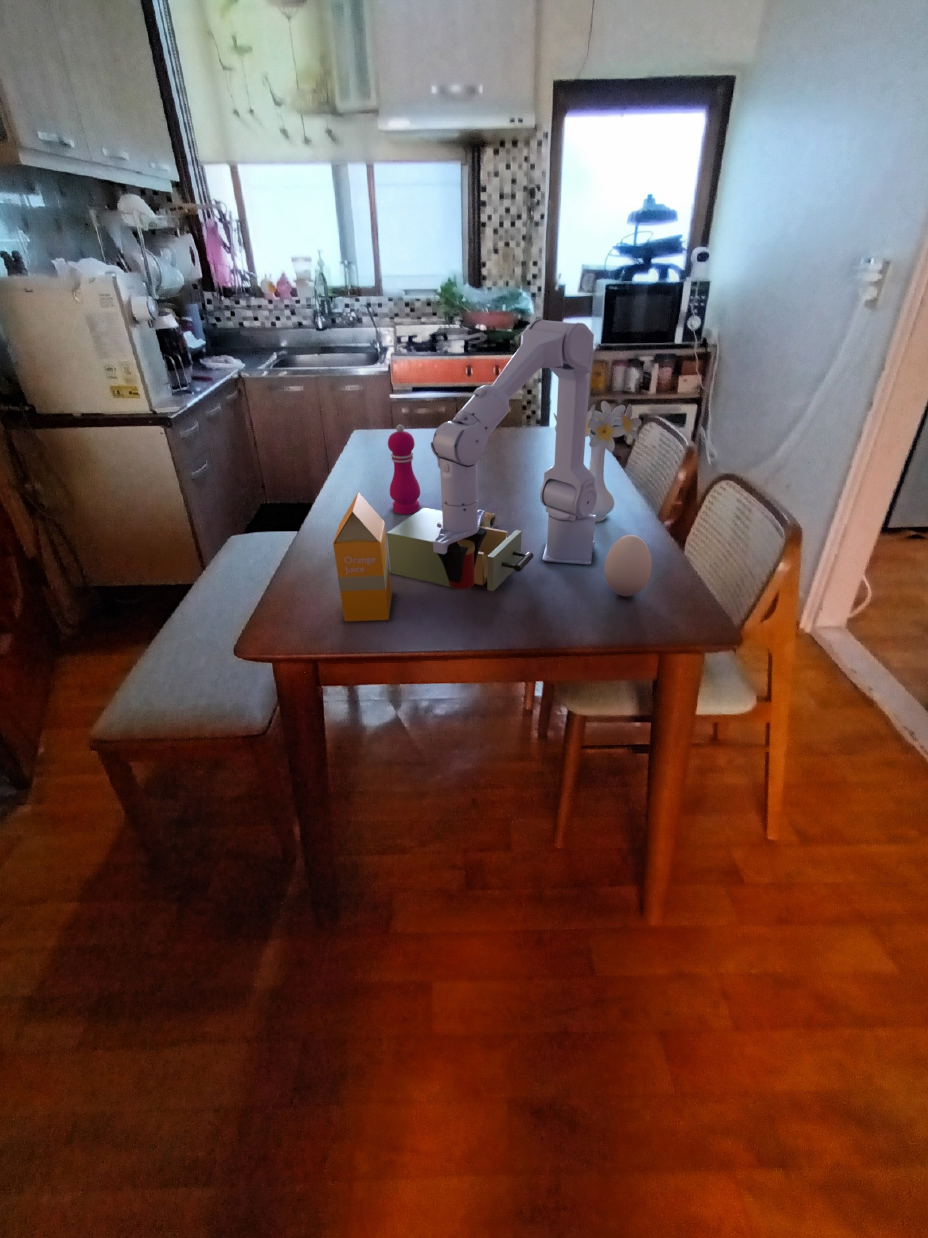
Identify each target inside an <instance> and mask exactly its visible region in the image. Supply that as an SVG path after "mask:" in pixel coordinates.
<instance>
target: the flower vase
mask: <svg viewBox="0 0 928 1238" xmlns="http://www.w3.org/2000/svg"><path fill="white" fill-rule="evenodd" d="M600 408H601V411H599V410H596V404H595V403H594V404H593V405H591V407H590V409H589V411H588V410H587V423H586V437H585V438H587V437H589V443H588V445H589V447H590V457H589V459H590V460H589V466H588V467H589V468H588V470H589V471H590V472H591V473H592V474H593V476H594V477H595V489H596V493H597V501H596V505H595V507H594V509H593V511H592V512H591V513H590V514H592V515H596V519H595V523H598V522H602V521H604V520H605V519H606V518H607V515H609V514H610V513H611V512H612V511H613V510H614V507H615V499H614V496H613V494H612V493H611V492H610V491H609V490H608V489H607V486H606V483H605V477H604V475H605V473H604V472H605V471H604V469H605V457H606V456H605V454H606V451H608V452H610V453H612V452H614V451H615V447H616V444H615V440H614V438H619V437H622V436H625V437H628V436H629V435H630V436H631V437H632V438H633V439H634V440H635V441H639V440H640V437H639V434H638V432H637V431H636V430H635V429H636V428H640V426H642V419H640V418H639V417H633V406H632V404H627V408H626V405H624V404H620V405H618V406H616V407H615V408H613V410H612V407H611V405H610V403H609V402H607V401H606V400H603V401H601V403H600ZM553 417H554V419H555V421H557V414H556V413H555V412H553ZM554 430H555V432H556V425H555V426H554Z"/></svg>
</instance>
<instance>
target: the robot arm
mask: <svg viewBox="0 0 928 1238" xmlns="http://www.w3.org/2000/svg"><path fill="white" fill-rule="evenodd" d="M594 341H595V334H594V333H593V331H591V329H590V328H589V327H588V325H586V323H583V322H566V321H557V320H546V319H544V318H543V319H542V318H536V319H534V320H533V321H531V322H530V323H529V324H528V327H527V328H526V329H525V330H524V331H523V332H522V333H521V336H520V346H519V347H518V349H517V350H516V352H515V353H514V354H513V356H511V358H510V359H509V361H508V362H507V364H506V365H505V367H504V368H503V369H502V371H501V372H500V373H499V374H498V376H497V378H496V379H495V380H494V382H493V383H492V384H490V385H488V384H485V385H481V386H479V387H477V388H476V389H475V390H474V391H473V394H472V396H471V397H470V399H469V400H468V401H467V402H466V403H465V404H464V406H463V407H462V408H461V409H460V410H459V411H458V412H457V413H456V414H455V416H454V417H453V419H452V420H447V421H445V422H443V423H441V424H440V425H439V426H438V427H437V428H436V429H435V431H434V434H433V437H432V441H431V442H430V448H431V452H432V453H433V455H434V456H435V457H436V461H437V467H438V468H439V469H440V493H441V496H440V497H441V511H442V517H443V519H442V520H440V521H439V522H438V523H437V527H439V528H440V531H439V533H438V536H437V538H436V539H435V540H434V541H433V551H434V552H436V553H437V554H438V556H439V557H440V559H441V561H442V563H443V566H444V568H445V571H446V574H447V577H448V580H449V581H451V582H455V583H460V582H461V579H462V571H463V562H464V558H465V555H466V552H467V550H468V549H469V548H468V547H463V546H459V544H458V541H459V540H461V539H463V540H469V541H472V542H473V543H474V545H475V550H474V568H475V564H476V560H477V556H478V552H479V548H480V546H481V543H482V541H483V539H484V537H485V535H486V529H484V528H480V523H483V522H484V521H485V512H486V511H485V510H483V509H478V461H480V460H481V459H482V457H483V456H484V454H485V450H486V445H487V443H488V442H489V438H490V435H491V434H492V433H493V431H494V430H495V429H496V428H497V426H498V425H499V424H500V423H501V421H503V419H504V418H505V417H506V415H508V413H509V410H510V400H511V399H512V398H513V396H514V395H516V394H517V392H519V391H520V389H521V388H522V387H523V386H524V385H525V384H526V383H527V382H529V380H530V379H531V378H532V377H534V375H535V374H536V373H537V372H538V371H539V370H540V369H549V370H550V371H551V372H552V373H553V374H554V375H555V376H556V377H557V399H556V400H557V401H556V416H557V421H556V420H555V421H556V422H555V426H556V431H555V444H554V445H555V446H554V464H553V465H552V466H550V467H549V468H548V469H547V470H545V471H544V473H543V482H542V485H541V487H540V493H539V499H540V502H541V504H542V505H543V506H544V507H545V512H546V513H547V531H546V532H547V534H546V544H545V548H544V551H543V556H542V560H541V561H542V562H547V563H550V562H551V563H559V564H560V563H561V564H573V565H585V566H589V565H592V559H593V552H595V548H596V547H595V546H596V542H595V541H594V539H595V528H596V522H595V519H596V515H592V514H590V513H591V512H592V511H593V509H594V507H595V505H596V501H597V493H596V489H595V477H594V476H593V474H592V473H591V472H590V471H589V468H588V467H587V466H586V465H585V451H586V438H587V437H586V423H587V412H588V408H589V394H590V379H591V372H592V367H593V365H592V364H593V353H594Z"/></svg>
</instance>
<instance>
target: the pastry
mask: <svg viewBox="0 0 928 1238" xmlns="http://www.w3.org/2000/svg"><path fill="white" fill-rule="evenodd" d="M498 523H499V522H498V517H497V515H496V513H494V512H492V513H490V512H486V511H485V521H484V527H488V528H493V529H495V528H496V527H497V525H498Z"/></svg>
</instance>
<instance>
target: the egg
mask: <svg viewBox="0 0 928 1238" xmlns="http://www.w3.org/2000/svg"><path fill="white" fill-rule="evenodd" d="M652 563H653V562H652V556H651V552H650V548H649V547H648V546H647V544H646V542H645V541H644V539H642V538H641V537H640V536H638V535H635V534H626V535H623V536H621V537H620V538H619V539H618V540H616V541H615V543H614V544H613V545H612V546H611V547H610V549H609V551H608V553H607V555H606V558H605V562H604V571H603V572H604V577H605V581H606V583H607V586H608V587H609V589H610V590H612V591H613V592H614V593H615V594H617V595H619V596H622V597H630V596H634V595H636V594H638V593H639V592H640V591H642V590H643V589H644V588H645V587H646V586H647V584H648V582H649V581H650V578H651V574H652V568H653V567H652V566H653V564H652Z"/></svg>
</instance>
